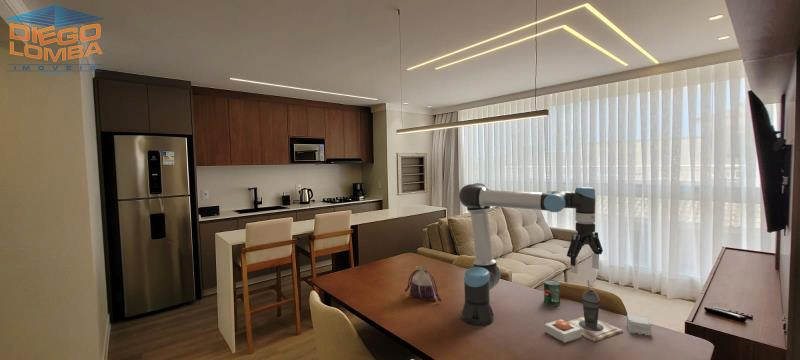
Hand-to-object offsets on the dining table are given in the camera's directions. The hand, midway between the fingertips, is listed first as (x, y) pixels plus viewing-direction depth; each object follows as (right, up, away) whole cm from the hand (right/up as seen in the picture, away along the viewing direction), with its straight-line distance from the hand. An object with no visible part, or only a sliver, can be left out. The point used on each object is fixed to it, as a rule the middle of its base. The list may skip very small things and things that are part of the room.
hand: (585, 270), depth 145 cm
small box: (+23, -26, -1) cm, 35 cm away
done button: (-11, -24, -3) cm, 27 cm away
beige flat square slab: (+3, -26, +1) cm, 26 cm away
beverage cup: (+3, -25, +1) cm, 25 cm away
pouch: (-69, -27, +41) cm, 84 cm away
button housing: (-11, -27, -3) cm, 29 cm away
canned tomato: (-1, -26, +30) cm, 40 cm away
